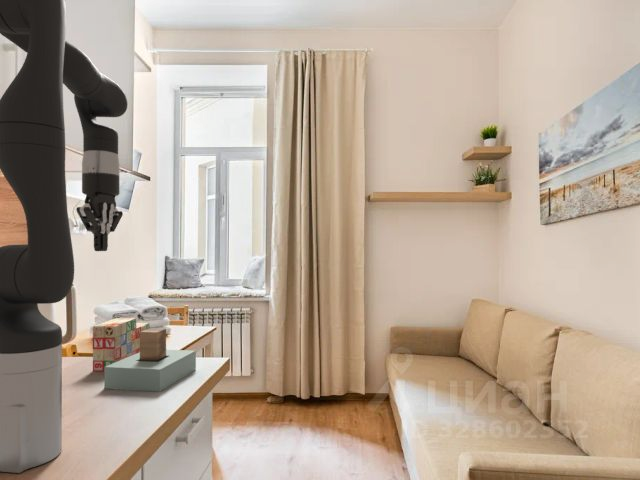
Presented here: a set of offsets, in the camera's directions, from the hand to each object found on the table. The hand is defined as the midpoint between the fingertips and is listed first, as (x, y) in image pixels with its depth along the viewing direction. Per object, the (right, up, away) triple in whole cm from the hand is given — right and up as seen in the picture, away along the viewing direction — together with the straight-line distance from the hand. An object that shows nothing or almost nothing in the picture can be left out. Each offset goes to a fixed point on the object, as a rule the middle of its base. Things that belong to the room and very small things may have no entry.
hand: (100, 251), depth 97 cm
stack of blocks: (-8, -33, +28) cm, 44 cm away
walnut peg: (+7, -32, +11) cm, 35 cm away
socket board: (+7, -32, +11) cm, 35 cm away
